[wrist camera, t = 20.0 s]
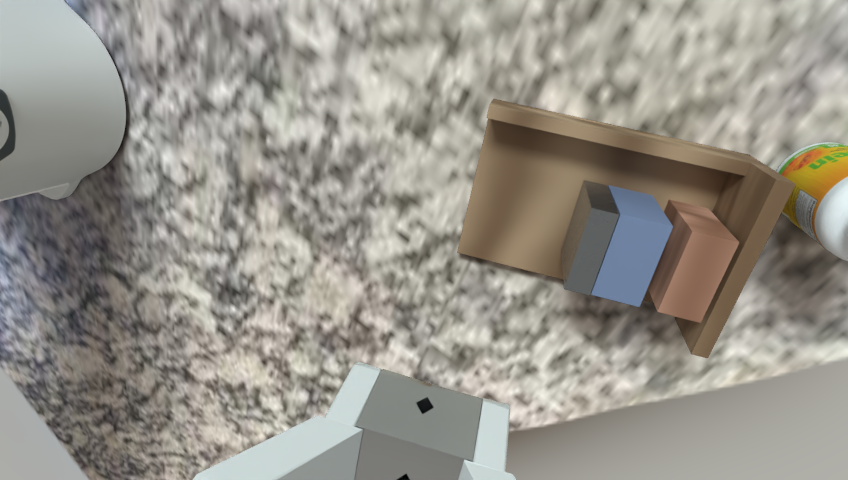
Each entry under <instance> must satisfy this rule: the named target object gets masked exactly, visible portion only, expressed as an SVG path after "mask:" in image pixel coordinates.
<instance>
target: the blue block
mask: <svg viewBox="0 0 848 480" xmlns="http://www.w3.org/2000/svg"><path fill="white" fill-rule="evenodd" d="M608 189H609V191H610V193H611V196H612V198H613V201H614V203H615V205H616V208H617V210H618V213H619V217H618V220H617V222H616V225H615V228H614V231H613V233H612V236H611V239H610V242H609V244H608V247H607V250H606V252H605V255H604V258H603V261H602V263H601V266H600V269H599V272H598V274H597V277H596V280H595V283H594V285H593V288H592V291H591V295H594V296H598V297H602V298H606V299H610V300H614V301H618V302H621V303H625V304H629V305H633V306H637V307H640V305H641V303H642V300H643V298H644V295H645V293H646V291H647V288H648V286H649V283H650V281H651V279H652V276H653V274H654V271H655V269H656V267H657V264H658V262H659V259H660V257H661V255H662V252H663V250H664V247H665V245H666V243H667V240H668V238H669V235H670V233H671V231H672V228H673V226H672V224H671V222H670V221H669V219H668V218H667V216H666V215H665V213H664V212H663V210H662V209H661V207H660V206H659V204H658V203H657V201H656V200H655V198H654V197H653V195H649V194H645V193H640V192H636V191H632V190H627V189H623V188H619V187H615V186H610V185H608Z"/></svg>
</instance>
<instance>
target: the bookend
mask: <svg viewBox="0 0 848 480" xmlns="http://www.w3.org/2000/svg"><path fill="white" fill-rule="evenodd" d="M618 217H619V213H618V210H617V208H616V205H615V203H614V201H613V198H612V196H611V193H610V191H609V189H608V186H607V185H603V184H599V183H594V182H590V181H586V180H584V181H583V184H582V187H581V190H580V193H579V196H578V199H577V202H576V205H575V209H574V212H573V215H572V218H571V221H570V224H569V227H568V230H567V233H566V236H565V239H564V242H563V245H562V249H561V260H562V271H563V282H564V289H566V290H570V291H574V292H578V293H582V294H586V295H590V293H591V291H592V288H593V285H594V283H595V280H596V277H597V274H598V272H599V269H600V266H601V263H602V261H603V258H604V255H605V252H606V250H607V247H608V244H609V242H610V239H611V236H612V233H613V231H614V228H615V225H616V222H617V220H618Z"/></svg>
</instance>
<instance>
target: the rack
mask: <svg viewBox="0 0 848 480" xmlns="http://www.w3.org/2000/svg"><path fill="white" fill-rule="evenodd" d="M487 118H488V122H487V127H486V131H485V135H484V140H483V144H482V148H481V153H480V157H479V161H478V165H477V170H476V174H475V178H474V183H473V187H472V191H471V196H470V200H469V204H468V208H467V213H466V217H465V221H464V226H463V230H462V234H461V239H460V243H459V247H458V251H457V253H461V254H465V255H469V256H473V257H477V258H481V259H485V260H488V261H492V262H496V263H500V264H504V265H508V266H512V267H516V268H520V269H524V270H528V271H531V272H535V273H539V274H543V275H547V276H551V277H555V278H559V279H563V271H562V260H561V249H562V245H563V242H564V239H565V236H566V233H567V230H568V227H569V224H570V221H571V218H572V215H573V212H574V209H575V205H576V202H577V199H578V196H579V193H580V190H581V187H582V184H583V181H584V180H586V181H590V182H594V183H599V184H603V185H607V186H608V185H610V186H615V187H619V188H623V189H627V190H632V191H636V192H640V193H645V194H649V195H653V197H654V198H655V200H656V201H657V203H658V204H659V206H660V207H661V209H662V210H663V212H664V213H665V215H666V216H667V218H668V219H669V221H670V222H671V224H672V226H673V228H672V231H671V233H670V235H669V238H668V240H667V243H666V245H665V247H664V250H663V252H662V255H661V257H660V259H659V262H658V264H657V267H656V269H655V271H654V274H653V276H652V279H651V281H650V283H649V286H648V288H647V291H646V293H645V295H644V298H643V300H645V301H649V302H653V303H654V305H655V307H656V310H657V312H660V313H664V314H668V315H672V316H674V317H675V320H676V322H677V324H678V326H679V328H680V330H681V333H682V335H683V337H684V339H685V341H686V344H687V346H688V348H689V350H690V352H691V354H693V355H697V356H701V357H705V358H708V357H709V355H710V353H711V351H712V349H713V347H714V345H715V343H716V341H717V339H718V337H719V335H720V333H721V331H722V329H723V327H724V325H725V323H726V321H727V319H728V317H729V315H730V313H731V311H732V309H733V307H734V305H735V303H736V301H737V299H738V297H739V295H740V293H741V291H742V289H743V287H744V285H745V283H746V281H747V279H748V278H749V276H750V274H751V272H752V270H753V268H754V266H755V264H756V262H757V260H758V258H759V256H760V254H761V252H762V250H763V248H764V246H765V244H766V242H767V240H768V238H769V236H770V234H771V232H772V230H773V228H774V226H775V224H776V222H777V220H778V218H779V216H780V214H781V212H782V210H783V208H784V206H785V204H786V202H787V200H788V198H789V196H790V194H791V192H792V190H793V188H794V187H795V185H796V184H795V183H793V182H792V181H790V180H789V179H787V178H785V177H784V176H782V175H781V174H779V173H777V172H776V171H774V170H773V169H771V168H769V167H768V166H766V165H765V164H763V163H761V162H760V161H758V160H757V159H755V158H753V157H752V156H750V155H748V154H743V153H738V152H734V151H729V150H725V149H720V148H716V147H711V146H706V145H702V144H697V143H693V142H688V141H684V140H679V139H675V138H670V137H665V136H661V135H656V134H652V133H647V132H643V131H638V130H633V129H629V128H624V127H620V126H615V125H611V124H606V123H602V122H597V121H592V120H588V119H583V118H579V117H574V116H570V115H565V114H560V113H556V112H551V111H547V110H542V109H538V108H533V107H529V106H524V105H519V104H515V103H510V102H506V101H501V100H497V99H493V101H492V102H491V104H490V105H489V110H488V114H487Z"/></svg>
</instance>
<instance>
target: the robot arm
mask: <svg viewBox="0 0 848 480" xmlns="http://www.w3.org/2000/svg"><path fill="white" fill-rule="evenodd" d="M125 124H126V105H125V97H124V92H123V88H122V84H121V80H120V77H119V74H118V72H117V69H116V67H115V65H114V63H113V60H112V59H111V57H110V55H109V53H108V51H107V50H106V48H105V46H104V45H103V43H102V42H101V40H100V39H99V38H98V36H97V35H96V34H95V32H94V31H93V30H92V29H91V28H90V27H89V26H88V24H87V23H86V22H85V21H84V20H83V19H82V18H80V17H79V16H78V15H77V14H76V13H75V12H74V11H73V10H72V9H71V8H70V7H69V6H68V4H67V3H66V2H65V1H64V0H0V201H4V200H8V199H12V198H16V197H20V196H24V195H28V194H32V193H36V192H37V193H39V194H41V195H44V196H46V197H48V198H50V199H54V200H58V199H62V198H66V197H69V196H70V195H71V194H72V193H73V192H74V190H75V189H76V187H77V186H78V184H79V182H80V181H81V179H82V178H84V177H85V176H87V175H89V174H91V173H93V172H95V171H97V170H99V169H101V168H102V167H104V166H105V165H106V164H107V163H108V162H109V161H110V160H111V159H112V158H113V157H114V155H115V154H116V152H117V151H118V149H119V147H120V145H121V142H122V139H123V135H124V131H125ZM509 417H510V407H509V405H508V404H504V403H501V402H497V401H493V400H489V399H485V398H483V399H482V398H479V397H475V396H472V395H468V394H464V393H461V392H457V391H454V390H450V389H447V388H443V387H439V386H436V385H432V384H430V383H426V382H423V381H420V380H417V379H414V378H410V377H407V376H404V375H401V374H398V373H394V372H391V371H388V370H385V369H383V370H382V369H380V368H377V367H374V366H370V365H367V364H364V363H361V362H357V363H356V364H355V365H354V366H353V367H352V369H351V371H350V373H349V374H348V376H347V378H346V380H345V382H344V383H343V385H342V387H341V389H340V391H339V393H338V394H337V396H336V398H335V400H334V402H333V403H332V405H331V407H330V409H329V411H328V412H327V414H326V416H325V418H324V417H321V416H315V417H313V418H311V419H309V420H307V421H305V422H303V423H301V424H299V425H297V426H295V427H293V428H291V429H288V430H286V431H284V432H282V433H280V434H278V435H276V436H274V437H272V438H270V439H268V440H266V441H264V442H262V443H260V444H258V445H256V446H254V447H252V448H250V449H247V450H245V451H243V452H241V453H239V454H237V455H235V456H233V457H231V458H229V459H227V460H225V461H223V462H221V463H219V464H217V465H215V466H213V467H211V468H209V469H206V470H204V471H202V472H200V473H198V474H197V475H196V476H195V477H194V479H193V480H516V478H515V476H514V475H512V474H510V473H507V472H505V470H506V469H505V468H506V457H507V443H508V430H509Z"/></svg>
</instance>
